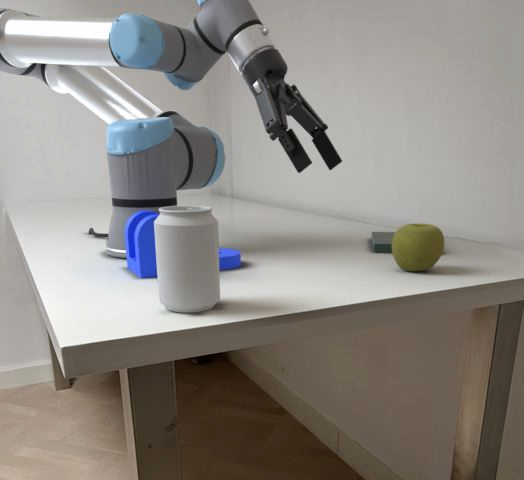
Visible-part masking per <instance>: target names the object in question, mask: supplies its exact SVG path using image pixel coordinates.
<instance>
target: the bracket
mask: <svg viewBox="0 0 524 480" xmlns="http://www.w3.org/2000/svg"><path fill="white" fill-rule="evenodd" d="M159 215H160V214H158V213H155V212H152V211H148V210H142V211H138V212H136V213H134V214H133V215H132V216H131V217H130V218H129V219H128V221H127V223H126V225H125V244H126V256H127V258H126V267H127V269H128V270H130V271H131V272H132V273H134V274H135V275H137V277H139V278H140V279H146V278H156V277H157V262H156V246H155V231H154V221H155V220H156V219H157V217H158V216H159ZM241 265H242V253H241V251H240V250H238V249H235V248H234V249H233V248H225V247H223V248H222V247H219V271H226V270H231V269H232V270H233V269H237V268H239V267H241ZM157 278H158V277H157Z"/></svg>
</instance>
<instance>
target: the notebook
mask: <svg viewBox="0 0 524 480" xmlns="http://www.w3.org/2000/svg"><path fill="white" fill-rule="evenodd" d="M395 233H396V231H371V236H370V241H371V244H372V245H371V246H372V249H373V253H388V254H389V253H392V240H393V237H394V234H395ZM392 254H393V253H392Z"/></svg>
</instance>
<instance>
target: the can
mask: <svg viewBox="0 0 524 480" xmlns="http://www.w3.org/2000/svg"><path fill="white" fill-rule="evenodd" d="M213 209H214V208H212V207H211V206H207V205H205V206H204V205H177V206H169V207H162V208H159V211H160V215H159V216H158V217H157V219H156V220H155V221H154V231H155V246H156V262H157V291H158V301H159V303H160V304H161V305H162V306H164V307H165V309H166V310H168V311H171V312H175V313H182V314H183V313H186V314H187V313H188V314H191V313H200V312H206V311H209V310H211V309H212V308H214V307H215V305H216V304H218V303H219V301H220V300H221V277H220V275H221V274H220V270H219V248H220V242H219V241H220V239H219V237H220V236H219V220H218V219H217V218H216V217H215V216H214V215H213V213H212V211H213Z"/></svg>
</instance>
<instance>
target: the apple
mask: <svg viewBox="0 0 524 480" xmlns="http://www.w3.org/2000/svg"><path fill="white" fill-rule="evenodd" d="M395 232H396V233H395V234H394V237H393V240H392V257H393V259H394V261H395V263H396V264H397V266H398V267H399V268H400V269H401V270H403V271H406V272H423V271H426V270H430V269H431V268H433V267H434V266H435V265H436V264H437V263H438V262H439V260H440V259H441V257H442V255H443V252H444V249H445V235H444V233H443V231H442V230H441V228H439V227H438V226H436V225H433V224H430V223H407V224H404V225H402V226H400V227H399V228H398V229H397V230H395Z"/></svg>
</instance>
